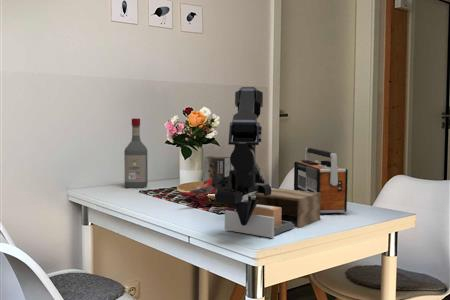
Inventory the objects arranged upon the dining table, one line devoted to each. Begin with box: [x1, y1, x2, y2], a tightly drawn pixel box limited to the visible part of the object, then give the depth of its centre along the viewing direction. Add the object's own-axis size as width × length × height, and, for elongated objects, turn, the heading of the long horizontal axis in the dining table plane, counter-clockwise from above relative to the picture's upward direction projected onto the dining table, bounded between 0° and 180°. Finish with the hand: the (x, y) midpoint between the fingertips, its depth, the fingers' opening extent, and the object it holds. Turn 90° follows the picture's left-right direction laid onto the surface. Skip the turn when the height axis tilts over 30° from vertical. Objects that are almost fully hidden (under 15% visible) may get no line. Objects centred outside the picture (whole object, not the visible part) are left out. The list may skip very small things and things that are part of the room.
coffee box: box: [202, 155, 232, 193], centre depth 183 cm, size 9×6×16 cm
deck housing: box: [255, 187, 321, 229], centre depth 148 cm, size 14×15×8 cm
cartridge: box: [252, 204, 283, 227], centre depth 136 cm, size 9×4×5 cm, turn 55°
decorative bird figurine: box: [177, 178, 216, 207], centre depth 168 cm, size 3×18×10 cm, turn 129°
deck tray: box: [224, 209, 295, 239], centre depth 136 cm, size 14×15×5 cm
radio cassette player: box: [293, 147, 349, 215], centre depth 169 cm, size 29×10×20 cm, turn 8°
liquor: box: [123, 118, 149, 189], centre depth 213 cm, size 9×9×30 cm
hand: (243, 225), depth 128 cm, fingers closed
